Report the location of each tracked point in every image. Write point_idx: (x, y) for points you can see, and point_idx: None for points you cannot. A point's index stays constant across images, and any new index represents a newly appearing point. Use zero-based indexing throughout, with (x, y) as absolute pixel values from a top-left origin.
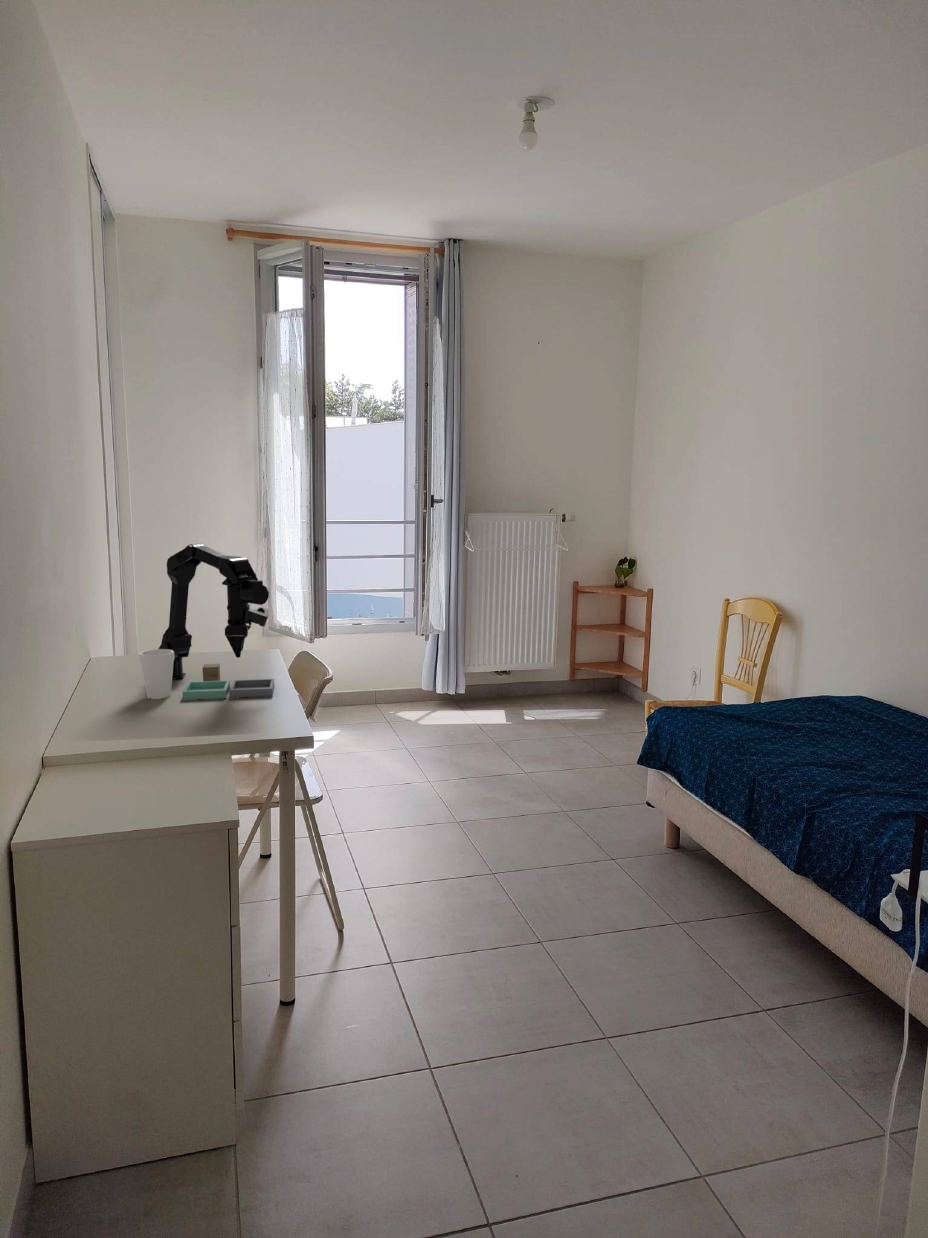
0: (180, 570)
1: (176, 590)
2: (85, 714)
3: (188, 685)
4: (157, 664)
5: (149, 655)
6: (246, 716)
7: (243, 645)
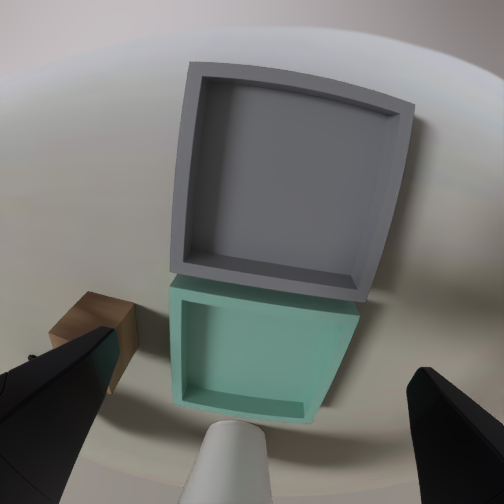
0: None
1: None
2: (329, 488)
3: (225, 410)
4: None
5: None
6: None
7: (85, 351)
